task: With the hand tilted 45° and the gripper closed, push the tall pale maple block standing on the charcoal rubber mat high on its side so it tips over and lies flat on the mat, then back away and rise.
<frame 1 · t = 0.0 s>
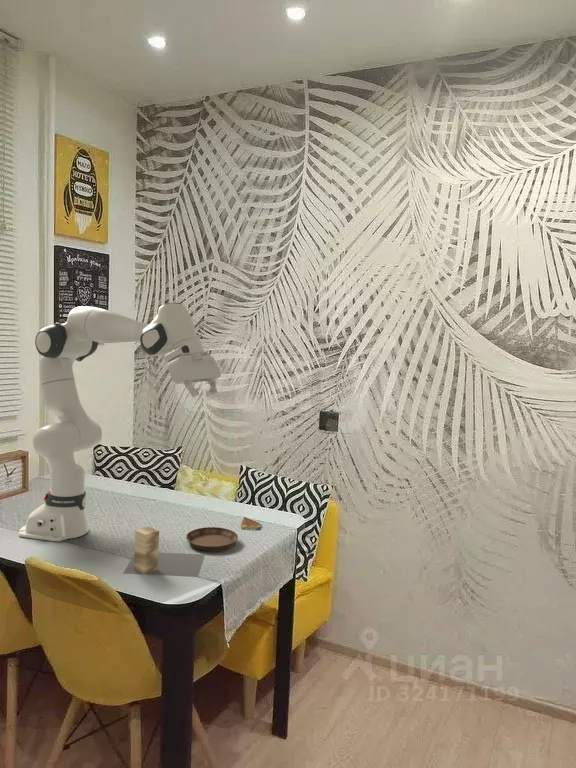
hand: (205, 394, 178), 54 cm above the table, tool tilted 30°, fingers open, 8 cm apart
pie slice: (246, 527, 227), on the table
plant saucer: (211, 544, 207), on the table
maple block: (145, 569, 180), point 1 cm above the table, touching rubber mat
rubber mat: (165, 566, 186), on the table
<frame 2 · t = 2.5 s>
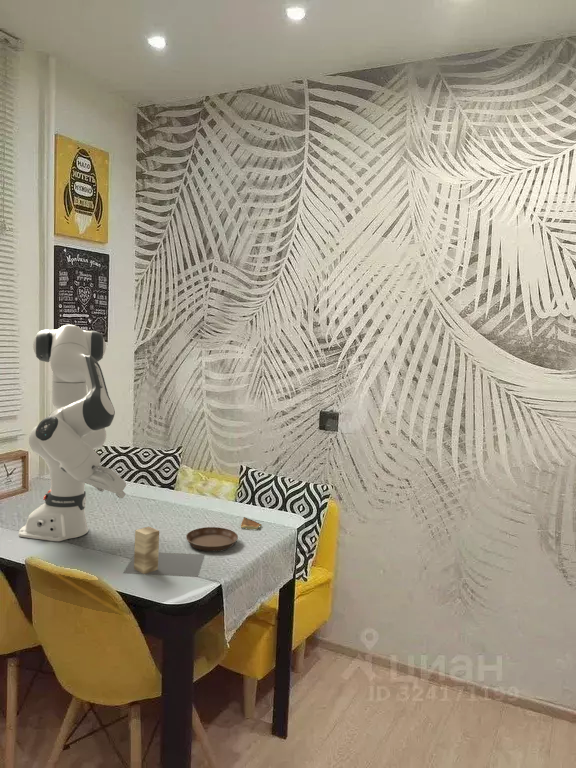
hand: (112, 492, 172), 26 cm above the table, tool tilted 45°, fingers open, 8 cm apart
nothing on the table moved.
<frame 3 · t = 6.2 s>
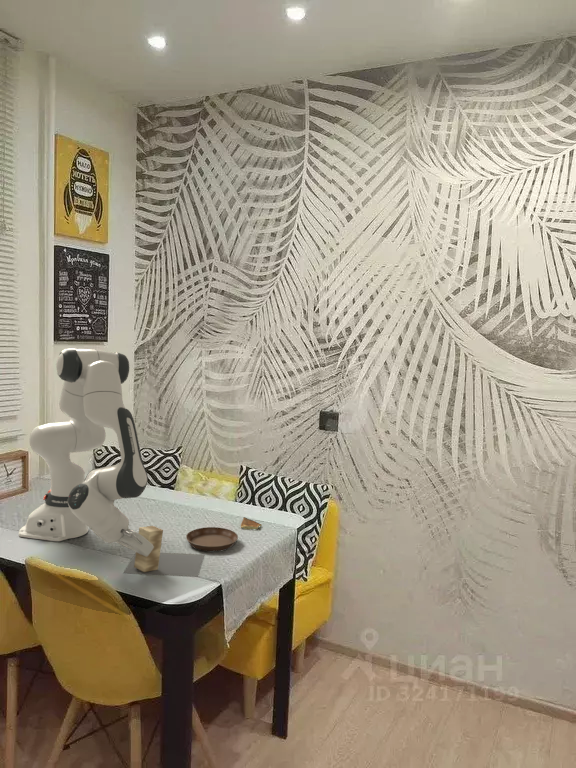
hand: (140, 550, 178), 7 cm above the table, tool tilted 45°, fingers closed
maple block: (146, 568, 180), point 1 cm above the table, tilted 7°, touching gripper, rubber mat
everything else where it was.
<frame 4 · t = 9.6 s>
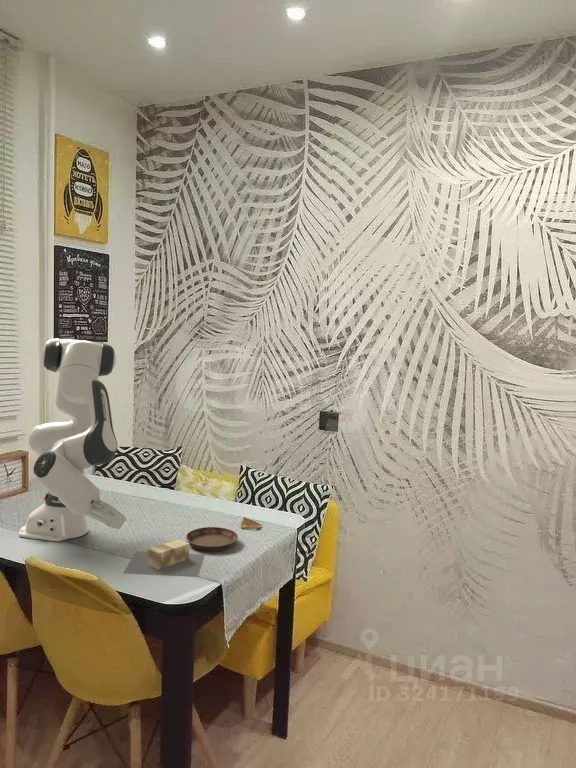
hand: (112, 524, 169), 17 cm above the table, tool tilted 45°, fingers closed
maple block: (153, 558, 182), point 3 cm above the table, tilted 90°, touching rubber mat
everything else where it was.
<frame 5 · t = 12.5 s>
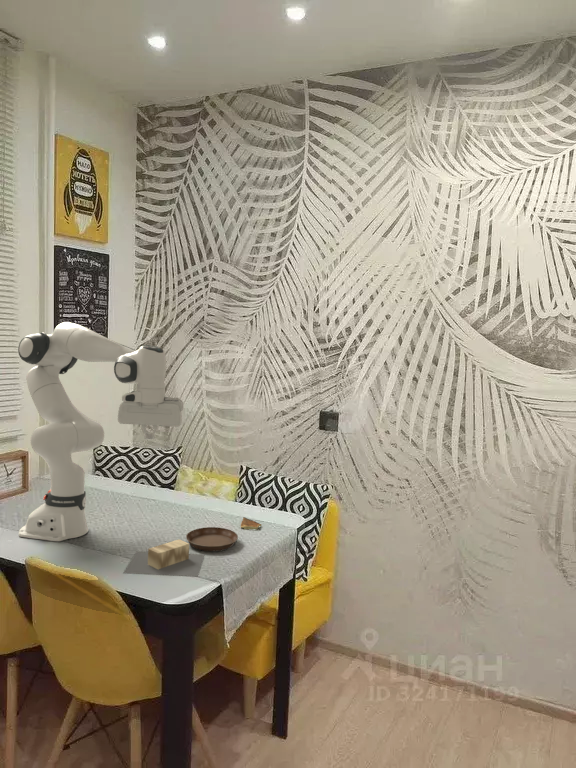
hand: (149, 438, 195), 37 cm above the table, tool pointing down, fingers closed
nothing on the table moved.
at the end: maple block tilted 90°; maple block inside the target area (4.5 cm from its centre), point 3.5 cm above the table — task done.
